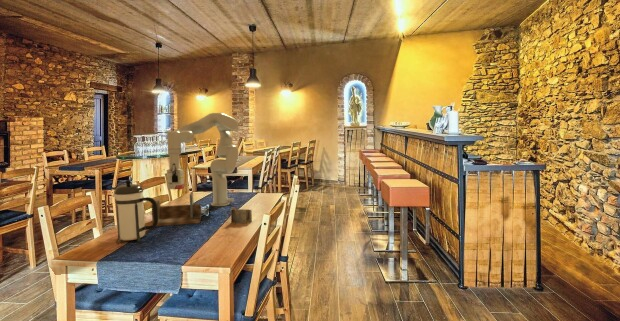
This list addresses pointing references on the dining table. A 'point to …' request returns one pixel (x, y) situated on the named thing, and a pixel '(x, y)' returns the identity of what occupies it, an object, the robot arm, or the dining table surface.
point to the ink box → (175, 184)
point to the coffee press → (132, 212)
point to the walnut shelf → (175, 214)
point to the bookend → (193, 216)
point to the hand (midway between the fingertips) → (175, 181)
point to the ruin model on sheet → (241, 215)
